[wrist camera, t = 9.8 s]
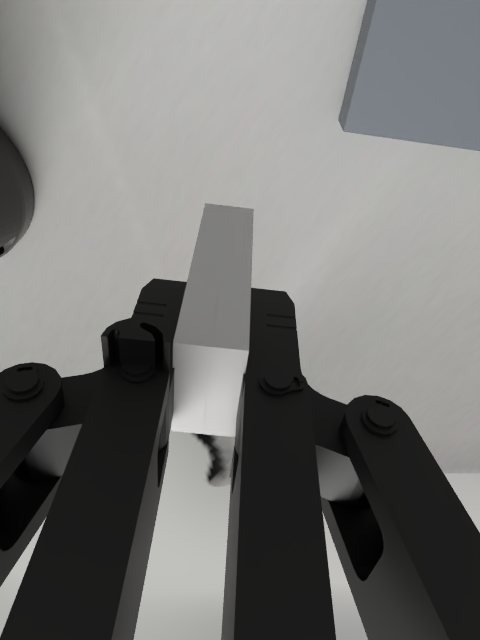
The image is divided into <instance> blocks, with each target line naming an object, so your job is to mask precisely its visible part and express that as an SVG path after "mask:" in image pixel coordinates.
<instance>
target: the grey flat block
mask: <svg viewBox="0 0 480 640" xmlns="http://www.w3.org/2000/svg"><path fill="white" fill-rule="evenodd" d="M339 122H340V125H341V127H342V129H343V131H344V132H350V133H357V134H364V135H371V136H378V137H385V138H392V139H399V140H406V141H413V142H420V143H427V144H434V145H441V146H448V147H455V148H462V149H469V150H476V151H480V0H367V4H366V8H365V13H364V17H363V21H362V25H361V29H360V33H359V37H358V42H357V46H356V50H355V54H354V58H353V62H352V66H351V70H350V75H349V79H348V83H347V87H346V91H345V95H344V99H343V104H342V108H341V112H340V116H339Z"/></svg>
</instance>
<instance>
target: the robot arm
mask: <svg viewBox="0 0 480 640" xmlns="http://www.w3.org/2000/svg"><path fill="white" fill-rule="evenodd" d="M33 210H34V194H33V188H32V183H31V179H30V176H29V173H28V170H27V168H26V166H25V164H24V162H23V160H22V158H21V156H20V154H19V152H18V151H17V149H16V148H15V146H14V144H13V143H12V142H11V140H10V139H9V138H8V136H7V135H6V134H5V133H4V132H3V130H2V129H1V128H0V257H2V256H4V255H5V254H6V253H8V252H9V251H10V250H11V249H12V248H13V247H14V246H15V245H16V243H17V242H18V241H19V240H20V239H21V238H22V237H23V236H24V234H25V233H26V231H27V229H28V228H29V225H30V223H31V220H32V216H33ZM253 210H254V209H249V208H241V207H232V206H223V205H215V204H206V203H205V207H204V211H203V216H202V220H201V224H200V229H199V233H198V237H197V242H196V246H195V250H194V255H193V259H192V263H191V267H190V272H189V276H188V280H187V282H181V281H172V280H163V279H153V280H152V281H150V282H149V283H148V284H147V285H146V286H144V287H143V288H142V290H141V293H140V295H139V298H138V301H137V304H136V306H135V309H134V313H133V315H132V317H131V318H129V319H125V320H122V321H118V322H116V323H114V324H112V325H111V326H109V327H107V328H106V330H105V331H104V332H103V334H102V335H101V342H102V351H103V361H104V368H102V369H100V370H98V371H95V372H93V373H88V374H84V375H78V376H71V377H64V378H61V377H60V375H59V374H58V372H57V371H56V370H55V369H54V368H52V367H50V366H48V365H46V364H41V363H33V362H32V363H24V364H18V365H15V366H12V367H10V368H7V369H5V370H3V371H2V372H0V586H1V585H2V583H3V582H4V580H5V579H6V577H7V576H8V574H9V573H10V571H11V569H12V568H13V567H14V565H15V564H16V562H17V561H18V559H19V558H20V556H21V555H22V553H23V551H24V550H25V549H26V547H27V545H28V544H29V542H30V541H31V539H32V538H33V536H34V535H35V533H36V532H37V530H38V529H39V527H40V526H41V524H42V522H43V521H44V520H45V518H46V520H45V523H44V525H43V528H42V530H41V533H40V535H39V538H38V541H37V543H36V546H35V548H34V551H33V554H32V556H31V559H30V561H29V565H28V567H27V570H26V572H25V574H24V577H23V580H22V583H21V585H20V587H19V590H18V593H17V595H16V598H15V601H14V603H13V606H12V608H11V611H10V614H9V616H8V619H7V621H6V624H5V627H4V629H3V632H2V634H1V637H0V640H133V639H134V634H135V628H136V623H137V618H138V612H139V607H140V602H141V596H142V591H143V585H144V580H145V575H146V569H147V564H148V559H149V553H150V547H151V543H152V537H153V532H154V526H155V520H156V516H157V510H158V505H159V500H160V494H161V488H162V484H163V477H164V473H165V467H166V462H167V457H168V444H169V441H168V440H169V433H170V428H171V431H177V432H188V433H198V434H208V435H218V436H229V437H235V446H234V452H233V458H232V464H231V470H230V477H231V491H230V507H229V523H228V525H229V526H228V540H227V556H226V573H225V589H224V604H223V620H222V621H223V622H222V637H221V640H336V634H335V625H334V616H333V607H332V598H331V588H330V579H329V569H328V560H327V551H326V541H325V532H324V523H323V514H322V511H323V513H324V516H325V519H326V522H327V525H328V528H329V530H330V533H331V536H332V539H333V542H334V544H335V547H336V550H337V553H338V556H339V559H340V561H341V564H342V567H343V569H344V573H345V575H346V578H347V581H348V584H349V587H350V589H351V592H352V595H353V597H354V601H355V603H356V606H357V609H358V612H359V615H360V617H361V620H362V623H363V626H364V629H365V632H366V634H367V637H368V640H480V533H479V531H478V529H477V528H476V526H475V525H474V523H473V521H472V519H471V518H470V516H469V515H468V513H467V511H466V510H465V508H464V506H463V505H462V503H461V501H460V500H459V498H458V497H457V495H456V493H455V492H454V490H453V488H452V487H451V485H450V483H449V482H448V480H447V478H446V477H445V475H444V473H443V472H442V470H441V469H440V467H439V465H438V464H437V462H436V460H435V459H434V457H433V455H432V454H431V452H430V450H429V449H428V447H427V445H426V444H425V442H424V441H423V439H422V437H421V436H420V434H419V432H418V431H417V429H416V427H415V426H414V424H413V422H412V421H411V419H410V418H409V416H408V415H407V414H406V413H405V412H404V411H403V409H402V408H401V407H399V406H398V405H396V404H395V403H393V402H392V401H390V400H387V399H385V398H382V397H379V396H371V395H364V396H360V397H357V398H354V399H353V400H352V401H351V402H350V403H349V404H348V405H346V404H343V403H341V402H338V401H335V400H332V399H330V398H327V397H325V396H323V395H321V394H319V393H318V392H316V391H315V390H314V389H312V388H311V387H310V386H309V385H308V383H307V381H306V378H305V377H304V376H303V375H302V373H301V369H300V358H299V348H298V337H297V330H296V328H297V327H296V319H295V317H296V316H295V306H294V303H293V301H292V300H291V299H290V297H289V296H288V294H287V293H286V292H284V291H275V290H266V289H257V288H251V272H252V241H253Z"/></svg>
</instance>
